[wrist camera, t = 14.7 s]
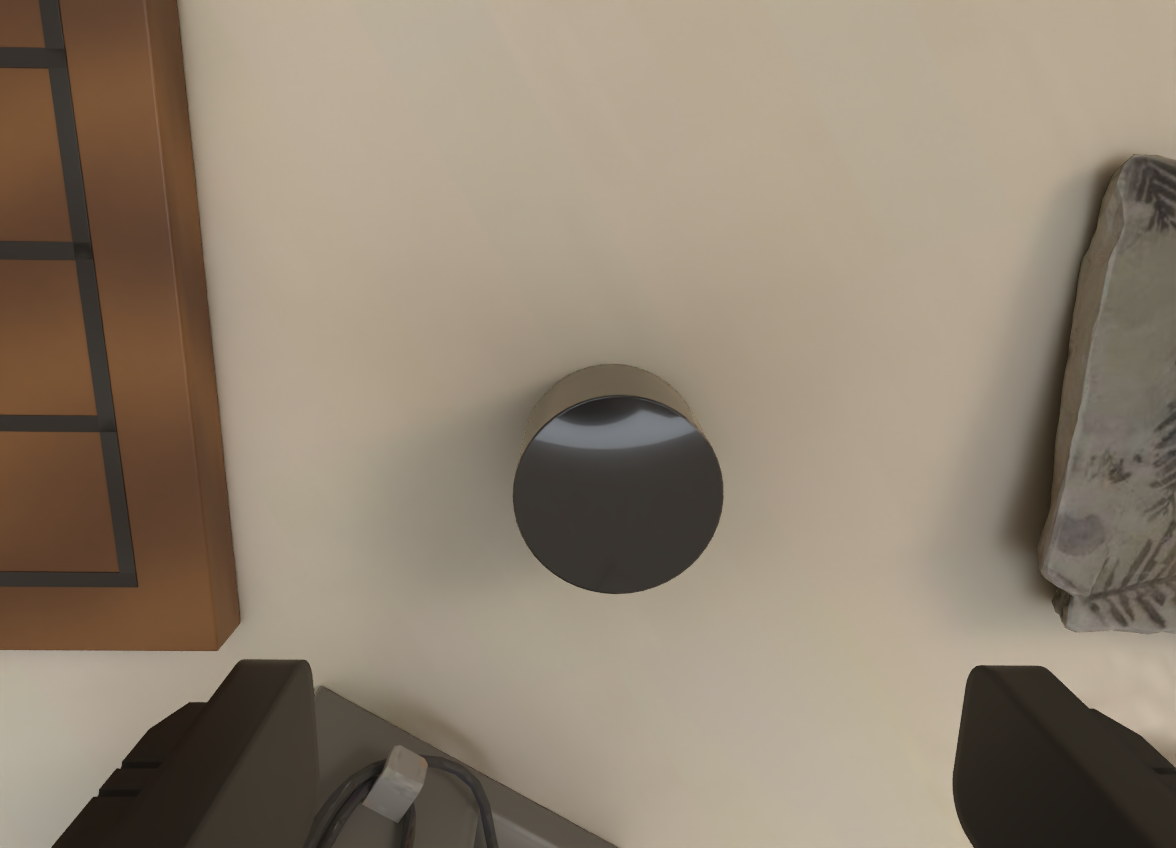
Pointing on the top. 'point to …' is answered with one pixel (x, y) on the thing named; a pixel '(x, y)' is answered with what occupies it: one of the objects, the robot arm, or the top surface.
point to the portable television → (416, 793)
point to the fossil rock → (1120, 418)
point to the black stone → (616, 481)
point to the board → (105, 341)
